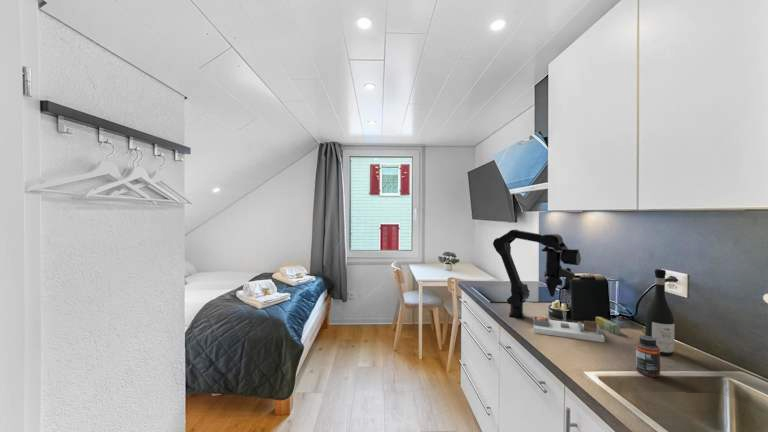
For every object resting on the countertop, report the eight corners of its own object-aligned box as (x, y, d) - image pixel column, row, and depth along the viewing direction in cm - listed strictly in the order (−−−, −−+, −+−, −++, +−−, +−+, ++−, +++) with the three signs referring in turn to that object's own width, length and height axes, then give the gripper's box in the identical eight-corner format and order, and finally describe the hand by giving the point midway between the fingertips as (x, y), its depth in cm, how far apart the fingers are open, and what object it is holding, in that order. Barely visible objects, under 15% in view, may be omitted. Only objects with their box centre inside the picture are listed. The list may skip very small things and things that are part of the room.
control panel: (533, 322, 150) (533, 313, 150) (597, 330, 140) (597, 320, 140) (533, 332, 137) (534, 323, 137) (604, 342, 127) (604, 332, 127)
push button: (536, 320, 145) (536, 316, 145) (546, 322, 144) (546, 317, 144) (536, 323, 142) (536, 319, 142) (546, 324, 140) (546, 320, 140)
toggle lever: (562, 320, 140) (561, 310, 142) (566, 321, 140) (566, 311, 141) (562, 320, 139) (562, 310, 140) (567, 321, 138) (566, 311, 139)
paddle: (583, 329, 135) (583, 320, 135) (596, 330, 133) (596, 322, 133) (584, 330, 134) (584, 321, 134) (596, 331, 132) (596, 323, 132)
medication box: (620, 335, 135) (620, 325, 135) (614, 335, 135) (614, 325, 135) (600, 325, 147) (600, 316, 147) (594, 325, 147) (595, 316, 147)
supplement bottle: (651, 369, 106) (651, 334, 106) (665, 378, 100) (665, 341, 100) (631, 368, 107) (631, 333, 106) (644, 377, 101) (644, 341, 100)
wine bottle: (679, 357, 114) (680, 272, 114) (653, 355, 116) (654, 271, 115) (664, 347, 122) (665, 268, 121) (640, 346, 123) (641, 267, 123)
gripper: (576, 267, 135) (575, 304, 136) (571, 260, 152) (570, 293, 153) (546, 265, 140) (545, 301, 140) (544, 258, 157) (543, 290, 157)
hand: (552, 296), depth 147 cm, fingers closed
